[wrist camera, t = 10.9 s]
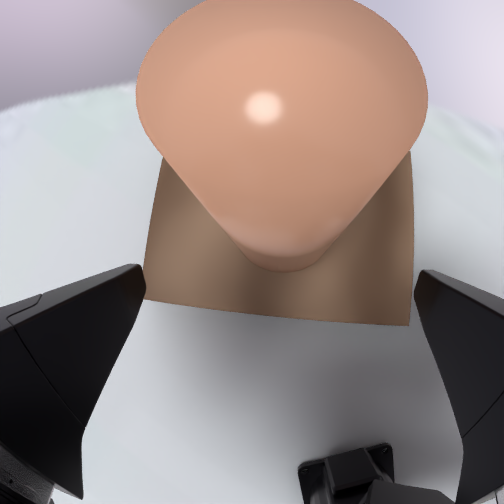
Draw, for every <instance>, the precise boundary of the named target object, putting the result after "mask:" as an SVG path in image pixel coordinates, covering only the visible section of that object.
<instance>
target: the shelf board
mask: <svg viewBox="0 0 504 504" xmlns="http://www.w3.org/2000/svg"><path fill="white" fill-rule="evenodd" d="M413 258H414V204H413V181H412V166H411V153H410V151H408V153H407V154H406V155H405V156H404V158H403V159H402V160H401V162H400V163H399V164H398V165H397V167H396V168H395V169H394V170H393V172H392V173H391V174H390V176H389V177H388V178H387V179H386V181H385V182H384V183H383V184H382V186H381V187H380V188H379V189H378V190H377V192H376V193H375V194H374V195H373V197H372V198H371V199H370V200H369V201H368V203H367V204H366V205H365V206H364V208H363V209H362V210H361V211H360V212H359V214H358V215H357V216H356V217H355V218H354V220H353V221H352V222H351V223H350V224H349V226H348V227H347V228H346V229H345V230H344V231H343V233H342V234H341V235H340V236H339V237H338V238H337V240H336V241H335V242H334V243H333V244H332V245H331V247H330V248H329V249H328V250H327V251H326V252H325V254H324V255H323V256H322V257H321V258H320V259H319V260H318V261H316V262H315V263H314V264H312V265H310V266H309V267H307V268H304V269H302V270H299V271H295V272H288V273H278V272H272V271H269V270H265V269H263V268H261V267H258V266H257V265H255V264H254V263H252V262H251V261H250V260H248V259H247V258H246V257H245V256H244V255H243V253H242V252H241V251H240V250H239V249H238V247H237V246H236V245H235V244H234V243H233V241H232V240H231V239H230V238H229V236H228V235H227V234H226V233H225V232H224V230H223V229H222V228H221V227H220V226H219V224H218V223H217V222H216V221H215V219H214V218H213V217H212V216H211V215H210V213H209V212H208V211H207V210H206V209H205V207H204V206H203V205H202V204H201V202H200V201H199V200H198V199H197V198H196V196H195V195H194V194H193V193H192V191H191V190H190V189H189V188H188V187H187V185H186V184H185V183H184V182H183V180H182V179H181V178H180V177H179V176H178V174H177V173H176V172H175V171H174V169H173V168H172V167H171V166H170V165H169V163H168V162H167V161H166V160H165V158H164V157H163V159H162V163H161V168H160V173H159V178H158V183H157V188H156V193H155V198H154V203H153V209H152V214H151V220H150V226H149V232H148V238H147V245H146V251H145V258H144V266H143V274H144V278H145V282H146V294H145V296H144V299H145V300H151V301H158V302H164V303H171V304H178V305H185V306H192V307H199V308H206V309H214V310H222V311H230V312H238V313H247V314H256V315H265V316H275V317H285V318H295V319H307V320H318V321H331V322H345V323H360V324H377V325H398V326H409V319H410V309H411V296H412V281H413Z"/></svg>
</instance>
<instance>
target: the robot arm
mask: <svg viewBox="0 0 504 504" xmlns="http://www.w3.org/2000/svg"><path fill="white" fill-rule="evenodd" d="M145 294H146V282H145V278H144V274H143V270H142V267H141V266H140V265H139V264H127V265H124V266H121V267H118V268H115V269H112V270H109V271H106V272H103V273H100V274H97V275H94V276H91V277H88V278H85V279H83V280H80V281H77V282H74V283H71V284H68V285H65V286H62V287H60V288H57V289H54V290H51V291H48V292H45V293H43V294H39V295H36V296H33V297H30V298H27V299H24V300H22V301H19V302H16V303H13V304H10V305H7V306H3V307H0V504H54V502H53V500H52V499H51V496H52V493H53V490H54V488H56V489H58V490H60V491H62V492H64V493H67V494H69V495H71V496H74V497H76V498H78V499H81V500H82V499H83V479H82V448H81V446H82V437H83V433H84V430H85V427H86V426H87V423H88V421H89V419H90V417H91V414H92V412H93V410H94V407H95V405H96V403H97V401H98V398H99V396H100V394H101V392H102V390H103V388H104V385H105V383H106V381H107V379H108V377H109V375H110V373H111V370H112V368H113V366H114V364H115V362H116V360H117V358H118V356H119V354H120V352H121V350H122V348H123V346H124V344H125V342H126V340H127V338H128V336H129V334H130V332H131V330H132V328H133V325H134V323H135V321H136V318H137V315H138V313H139V310H140V307H141V304H142V302H143V299H144V296H145ZM414 300H415V303H416V306H417V309H418V313H419V316H420V320H421V323H422V327H423V330H424V333H425V335H426V338H427V340H428V343H429V345H430V348H431V350H432V353H433V355H434V358H435V360H436V363H437V366H438V368H439V371H440V374H441V377H442V379H443V382H444V385H445V388H446V391H447V394H448V397H449V400H450V403H451V406H452V409H453V412H454V415H455V418H456V422H457V425H458V428H459V432H460V435H461V438H462V443H463V451H464V454H463V463H462V469H461V475H460V481H459V487H458V492H457V497H456V501H455V502H453V501H452V500H451V499H449V498H448V497H447V496H445V495H444V494H443V493H441V492H440V491H437V490H431V489H424V488H418V487H412V486H406V485H401V484H396V483H394V466H393V452H392V447H391V445H390V444H389V443H382V444H379V445H376V446H372V447H369V448H366V449H364V448H360V449H357V450H353V451H349V452H346V453H342V454H338V455H334V456H329V457H327V458H326V459H323V460H319V461H314V462H309V463H304V464H301V465H300V466H299V467H298V477H299V481H300V486H301V491H302V496H303V500H304V504H481V503H483V502H486V501H488V500H491V499H493V498H495V497H496V502H497V504H504V299H502V298H500V297H497V296H495V295H493V294H490V293H488V292H486V291H483V290H481V289H478V288H476V287H474V286H471V285H469V284H466V283H464V282H461V281H459V280H456V279H454V278H451V277H449V276H446V275H444V274H441V273H439V272H436V271H434V270H422V271H421V272H420V274H419V277H418V280H417V283H416V286H415V290H414ZM384 448H387V450H386V451H384V452H382V450H383V449H384ZM304 469H308V471H307V472H302V470H304Z"/></svg>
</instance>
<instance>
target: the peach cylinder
mask: <svg viewBox="0 0 504 504" xmlns="http://www.w3.org/2000/svg"><path fill="white" fill-rule="evenodd" d="M136 106H137V110H138V114H139V119H140V121H141V123H142V126H143V128H144V130H145V133H146V134H147V136H148V137H149V139H150V140H151V142H152V143H153V145H154V146H155V147H156V149H157V150H158V151H159V152H160V153H161V155H162V156H163V157H164V158H165V160H166V161H167V162H168V163H169V165H170V166H171V167H172V168H173V169H174V171H175V172H176V173H177V174H178V176H179V177H180V178H181V179H182V180H183V182H184V183H185V184H186V185H187V187H188V188H189V189H190V190H191V191H192V193H193V194H194V195H195V196H196V198H197V199H198V200H199V201H200V202H201V204H202V205H203V206H204V207H205V209H206V210H207V211H208V212H209V213H210V215H211V216H212V217H213V218H214V219H215V221H216V222H217V223H218V224H219V226H220V227H221V228H222V229H223V230H224V232H225V233H226V234H227V235H228V236H229V238H230V239H231V240H232V241H233V243H234V244H235V245H236V246H237V247H238V249H239V250H240V251H241V252H242V253H243V255H244V256H245V257H246V258H247V259H248V260H250V261H251V262H252V263H254V264H255V265H257V266H258V267H261V268H263V269H265V270H269V271H272V272H278V273H288V272H295V271H299V270H302V269H304V268H307V267H309V266H310V265H312V264H314V263H315V262H316V261H318V260H319V259H320V258H321V257H322V256H323V255H324V254H325V252H326V251H327V250H328V249H329V248H330V247H331V245H332V244H333V243H334V242H335V241H336V240H337V238H338V237H339V236H340V235H341V234H342V233H343V231H344V230H345V229H346V228H347V227H348V226H349V224H350V223H351V222H352V221H353V220H354V218H355V217H356V216H357V215H358V214H359V212H360V211H361V210H362V209H363V208H364V206H365V205H366V204H367V203H368V201H369V200H370V199H371V198H372V197H373V195H374V194H375V193H376V192H377V190H378V189H379V188H380V187H381V186H382V184H383V183H384V182H385V181H386V179H387V178H388V177H389V176H390V174H391V173H392V172H393V170H394V169H395V168H396V167H397V165H398V164H399V163H400V162H401V160H402V159H403V158H404V156H405V155H406V154H407V153H408V151H409V150H410V149H411V147H412V146H413V144H414V143H415V141H416V139H417V138H418V136H419V134H420V132H421V129H422V127H423V125H424V122H425V118H426V113H427V108H428V91H427V85H426V79H425V76H424V73H423V70H422V67H421V64H420V62H419V60H418V58H417V56H416V55H415V53H414V51H413V50H412V48H411V47H410V45H409V44H408V42H407V41H406V40H405V39H404V38H403V36H402V35H401V34H400V33H399V32H398V31H397V30H396V29H395V28H394V27H393V26H392V25H391V24H390V23H388V22H387V21H386V20H385V19H384V18H382V17H381V16H379V15H378V14H376V13H375V12H374V11H372V10H370V9H369V8H367V7H365V6H363V5H362V4H360V3H358V2H356V1H354V0H206V1H204V2H202V3H200V4H198V5H196V6H195V7H193V8H191V9H190V10H188V11H186V12H185V13H184V14H182V15H181V16H180V17H178V18H177V19H176V20H174V21H173V22H172V23H171V24H170V25H169V26H168V27H167V28H166V29H164V30H163V32H162V33H161V34H160V35H159V36H158V37H157V39H156V40H155V41H154V43H153V45H152V46H151V47H150V49H149V50H148V52H147V54H146V56H145V58H144V60H143V62H142V64H141V67H140V71H139V74H138V77H137V85H136Z"/></svg>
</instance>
